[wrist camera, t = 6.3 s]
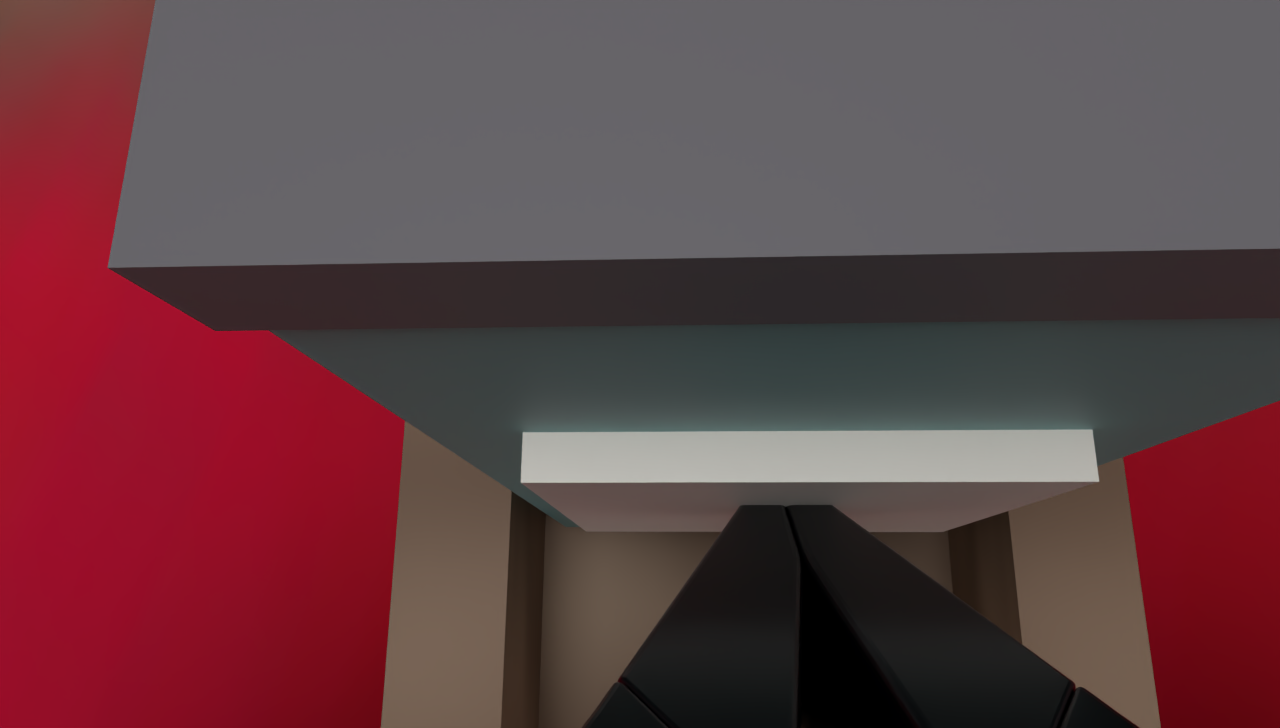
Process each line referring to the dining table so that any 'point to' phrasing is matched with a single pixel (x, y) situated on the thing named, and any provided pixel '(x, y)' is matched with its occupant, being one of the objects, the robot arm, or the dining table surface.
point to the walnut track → (663, 562)
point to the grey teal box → (734, 235)
